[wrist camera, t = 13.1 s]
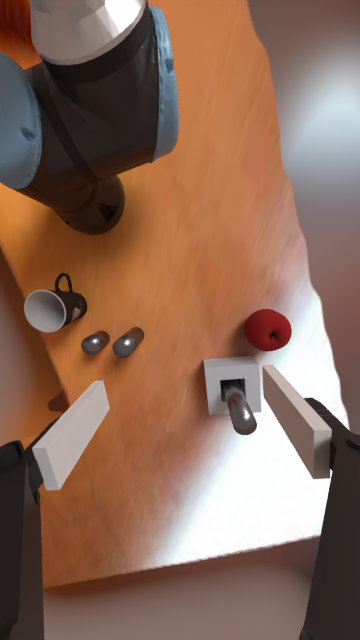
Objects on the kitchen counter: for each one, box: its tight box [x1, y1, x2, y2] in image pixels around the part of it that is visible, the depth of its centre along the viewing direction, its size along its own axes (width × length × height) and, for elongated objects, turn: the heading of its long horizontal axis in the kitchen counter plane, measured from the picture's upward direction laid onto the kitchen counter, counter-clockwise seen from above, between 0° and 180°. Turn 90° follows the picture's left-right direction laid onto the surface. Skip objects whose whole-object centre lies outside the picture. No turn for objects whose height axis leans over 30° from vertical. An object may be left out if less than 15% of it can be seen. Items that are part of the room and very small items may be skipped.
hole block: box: [203, 355, 261, 415], centre depth 47 cm, size 12×12×5 cm
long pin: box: [221, 379, 257, 435], centre depth 42 cm, size 4×4×16 cm
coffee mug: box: [24, 273, 87, 333], centre depth 43 cm, size 12×9×10 cm
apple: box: [245, 309, 292, 351], centre depth 42 cm, size 9×9×10 cm
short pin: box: [81, 331, 110, 355], centre depth 47 cm, size 4×4×6 cm
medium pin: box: [113, 327, 144, 358], centre depth 44 cm, size 4×4×10 cm
